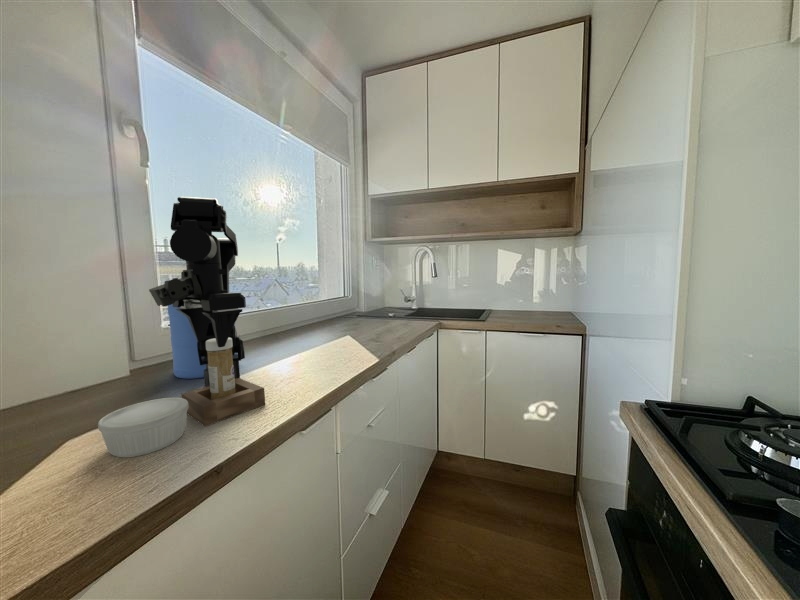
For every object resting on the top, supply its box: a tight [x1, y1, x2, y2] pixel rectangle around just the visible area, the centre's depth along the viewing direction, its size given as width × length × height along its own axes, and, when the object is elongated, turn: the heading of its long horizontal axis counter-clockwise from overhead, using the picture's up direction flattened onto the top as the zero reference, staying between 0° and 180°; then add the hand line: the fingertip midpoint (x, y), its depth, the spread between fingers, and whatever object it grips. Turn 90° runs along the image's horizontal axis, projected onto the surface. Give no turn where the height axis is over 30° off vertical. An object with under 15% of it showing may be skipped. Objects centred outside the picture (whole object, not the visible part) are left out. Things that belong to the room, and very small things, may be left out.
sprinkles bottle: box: [206, 337, 235, 400], centre depth 62 cm, size 5×5×14 cm
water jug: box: [167, 304, 238, 380], centre depth 87 cm, size 16×16×28 cm
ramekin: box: [97, 397, 189, 458], centre depth 50 cm, size 11×11×5 cm
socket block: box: [181, 377, 266, 427], centre depth 62 cm, size 11×11×4 cm
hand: (210, 344), depth 61 cm, fingers open, 9 cm apart
